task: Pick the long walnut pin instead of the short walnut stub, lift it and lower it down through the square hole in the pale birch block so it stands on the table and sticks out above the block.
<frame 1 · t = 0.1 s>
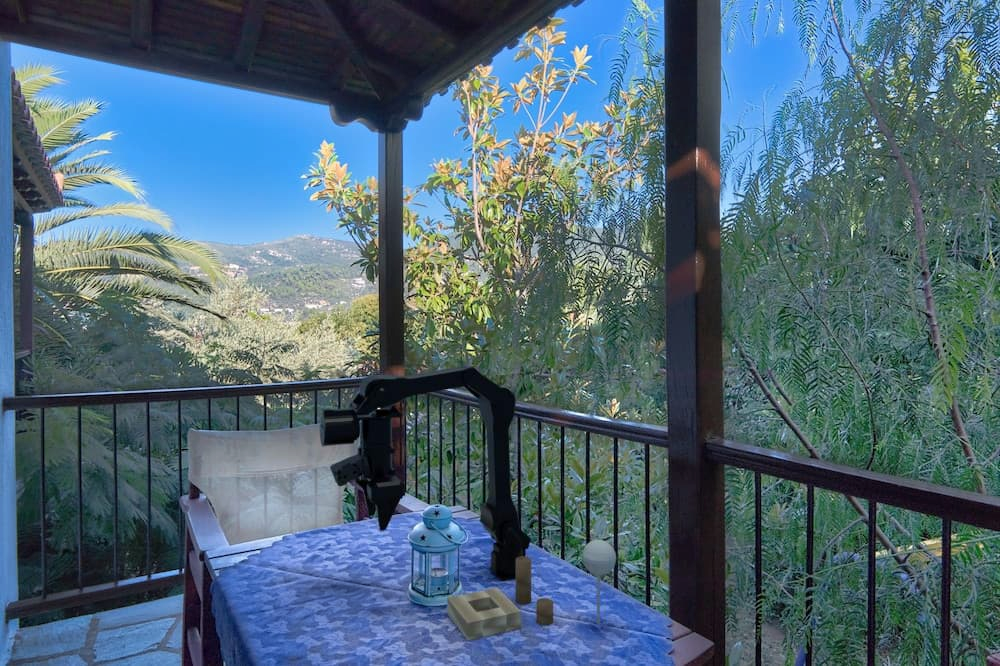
hand: (376, 522, 117), 15 cm above the table, tool pointing down, fingers open, 9 cm apart
long pin: (523, 600, 117), on the table
lollipop: (598, 626, 108), on the table
short pin: (544, 621, 109), on the table
bored block: (483, 620, 109), on the table
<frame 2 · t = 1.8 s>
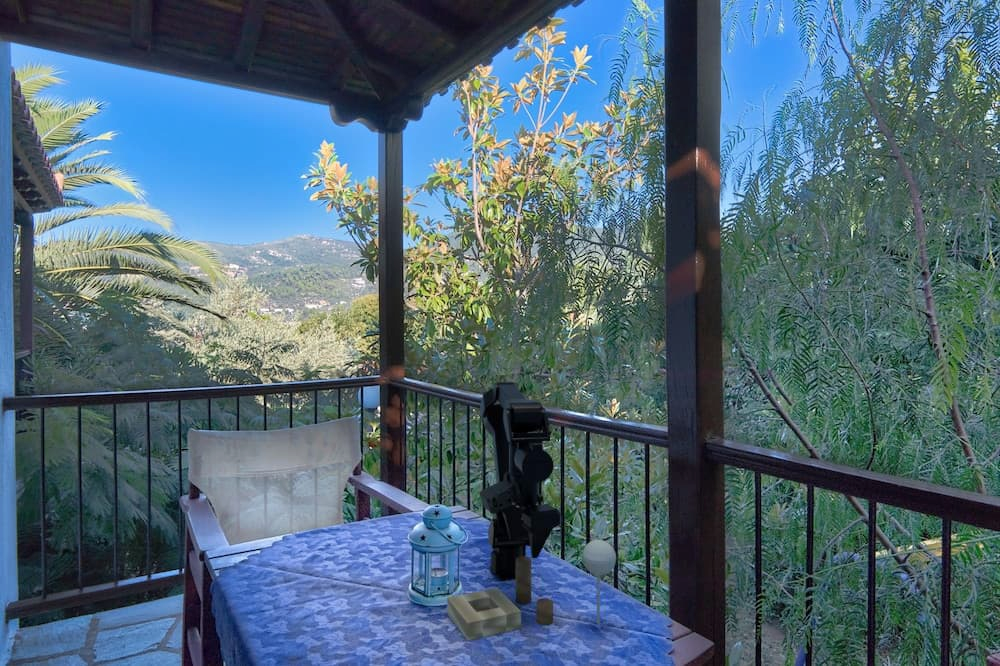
hand: (523, 548, 117), 10 cm above the table, tool pointing down, fingers open, 9 cm apart
nothing on the table moved.
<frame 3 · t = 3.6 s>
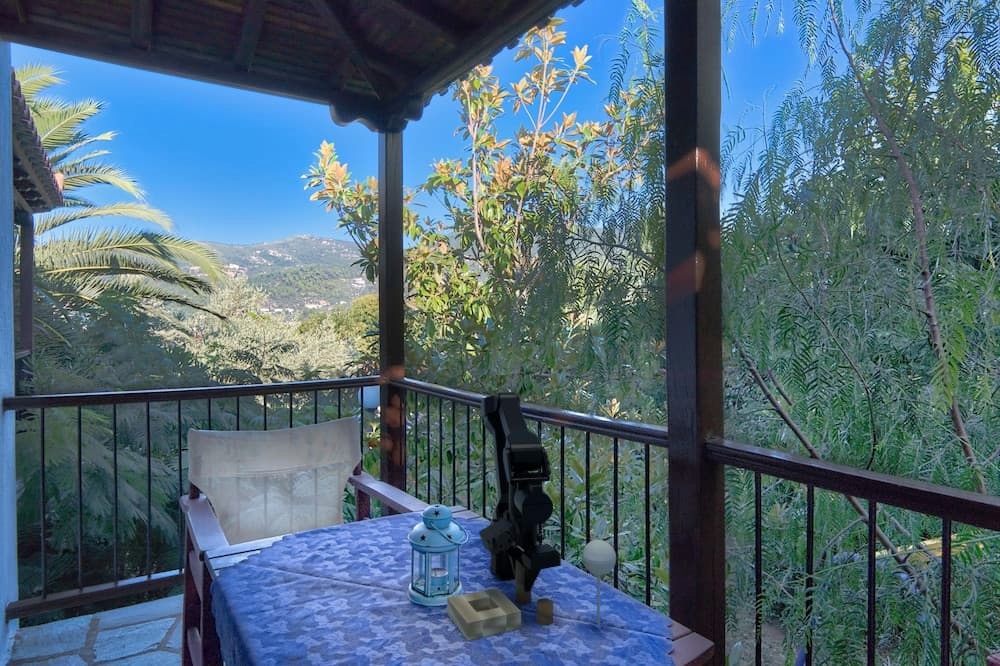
hand: (523, 587, 117), 3 cm above the table, tool pointing down, fingers closed on long pin, 3 cm apart
long pin: (523, 600, 117), on the table, touching gripper
everything else where it was.
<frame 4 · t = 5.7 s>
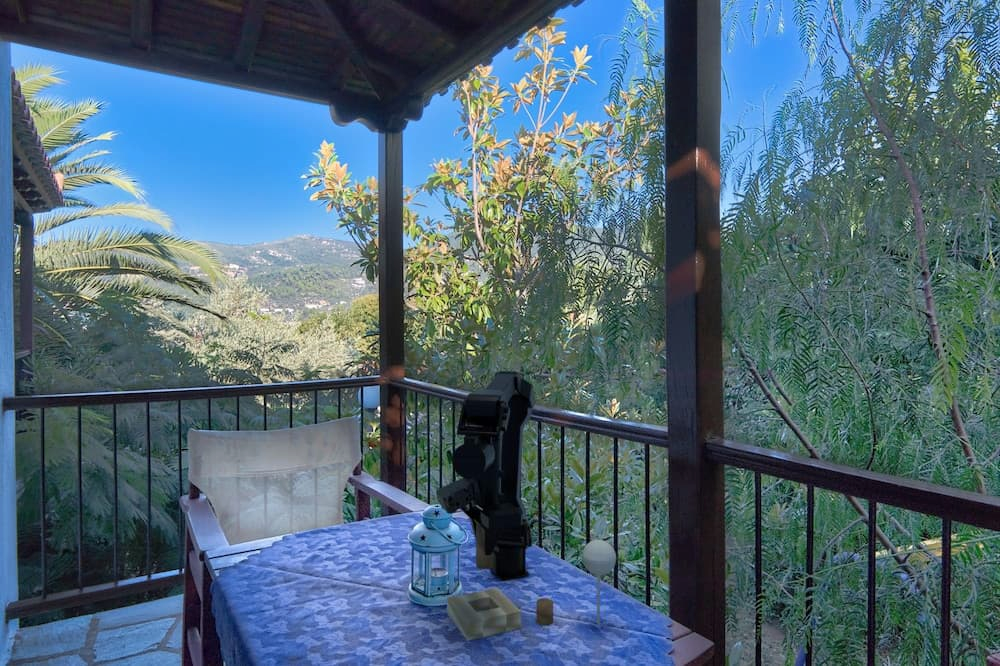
hand: (484, 551, 109), 12 cm above the table, tool pointing down, fingers closed on long pin, 3 cm apart
long pin: (484, 565, 109), point 10 cm above the table, touching gripper
everything else where it was.
when the fingers open (4 cm above the table, at t = 8.2 s): long pin drops 2 cm, on the table.
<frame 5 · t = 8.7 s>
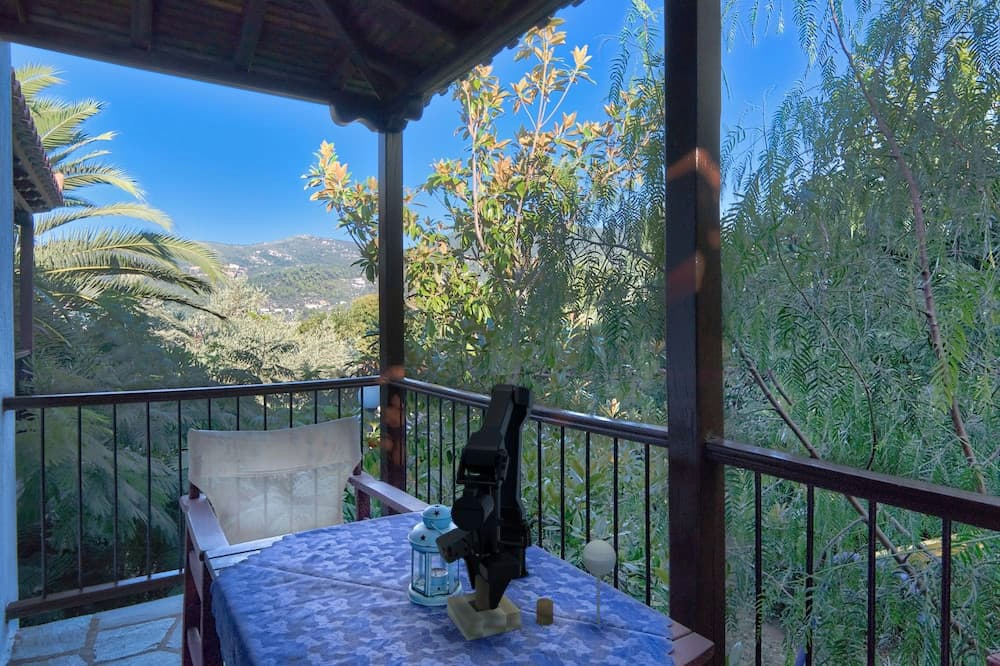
hand: (483, 598, 109), 4 cm above the table, tool pointing down, fingers open, 8 cm apart
long pin: (483, 621, 109), on the table
everything else where it was.
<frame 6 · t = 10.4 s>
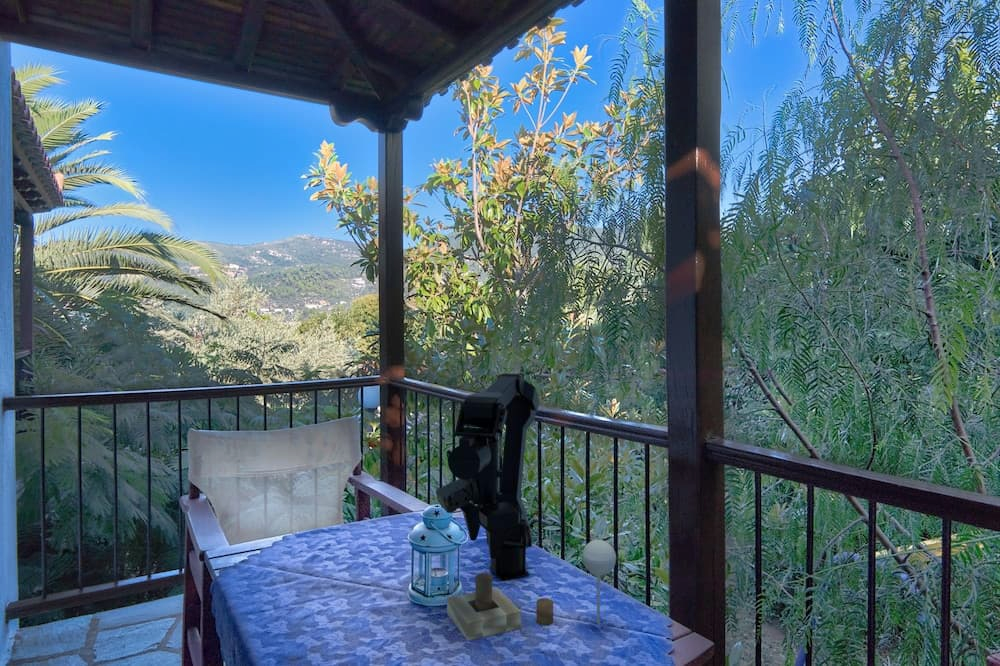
hand: (483, 548, 112), 12 cm above the table, tool pointing down, fingers open, 9 cm apart
nothing on the table moved.
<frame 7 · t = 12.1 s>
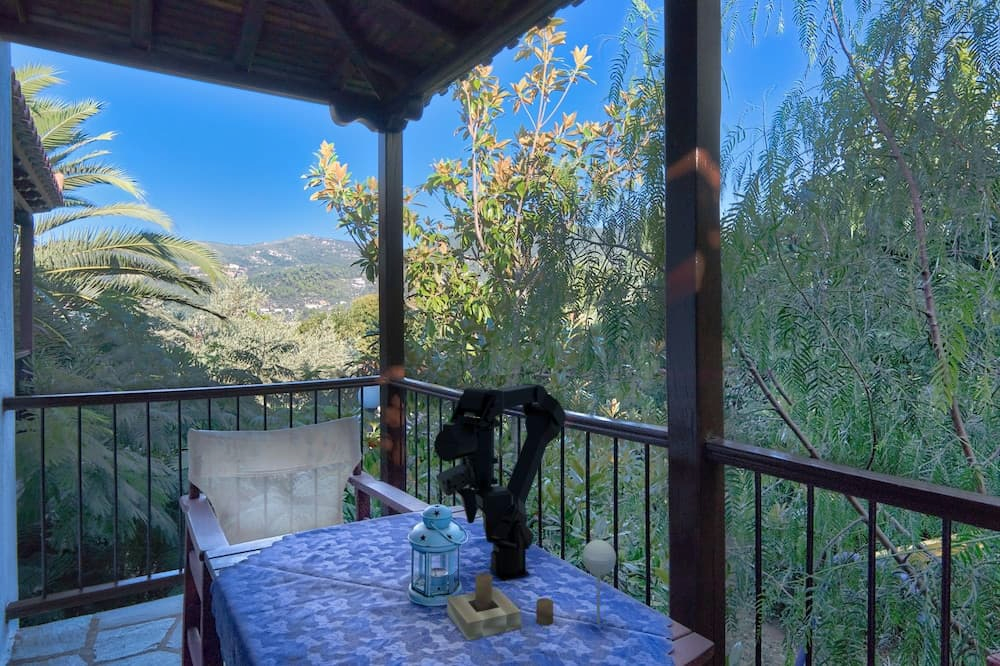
hand: (479, 530, 121), 12 cm above the table, tool pointing down, fingers open, 9 cm apart
nothing on the table moved.
at the end: long pin 0.1 cm off-centre on the bored block, point 0.0 cm above the bored block's base; long pin tilted 0°; short pin moved 0.1 cm from its start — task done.
